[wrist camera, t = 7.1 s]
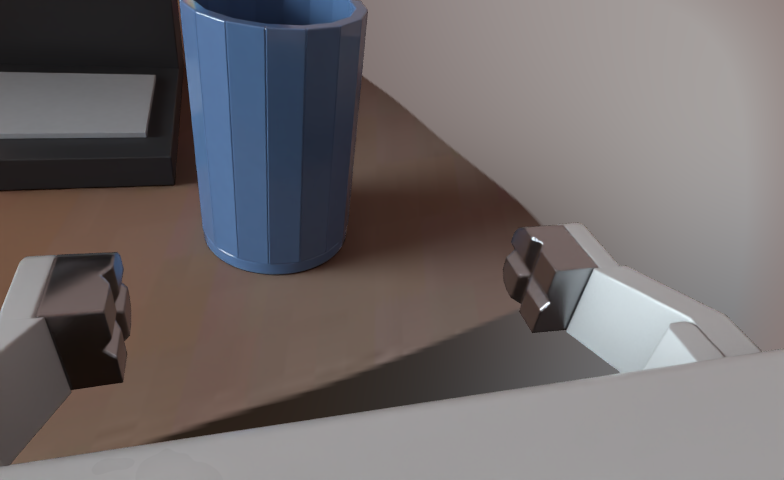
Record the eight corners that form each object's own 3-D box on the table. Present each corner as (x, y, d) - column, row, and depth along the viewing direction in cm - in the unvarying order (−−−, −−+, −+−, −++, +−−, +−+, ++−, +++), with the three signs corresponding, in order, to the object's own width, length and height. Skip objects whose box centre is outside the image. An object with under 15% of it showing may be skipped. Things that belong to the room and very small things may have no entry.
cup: (204, 281, 22) (176, 24, 16) (204, 194, 27) (182, -31, 21) (358, 269, 24) (385, 33, 18) (333, 189, 29) (347, -19, 23)
